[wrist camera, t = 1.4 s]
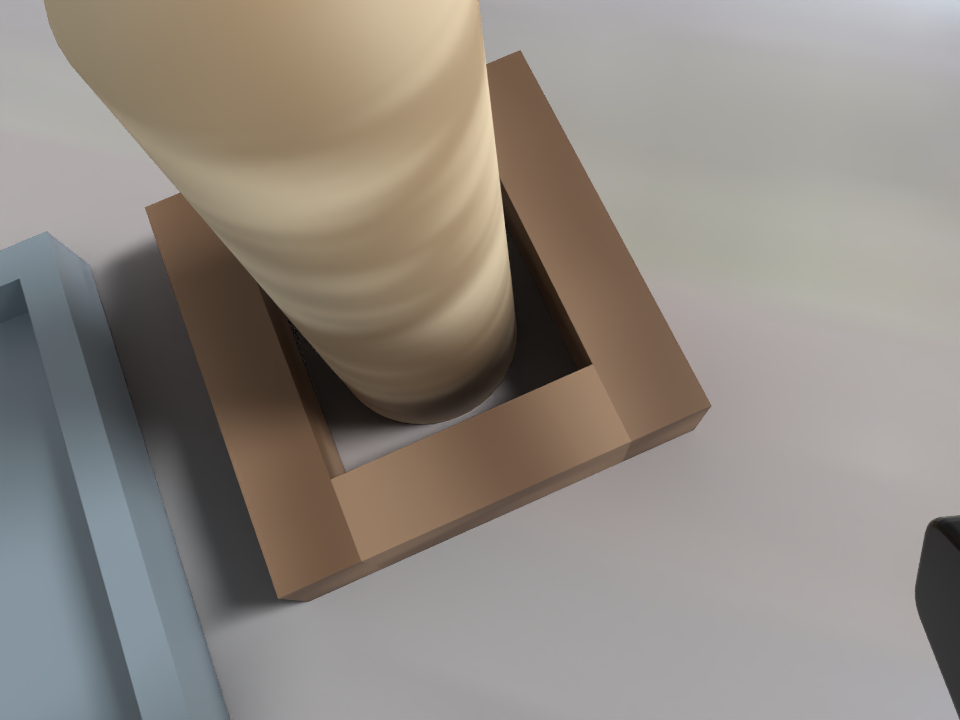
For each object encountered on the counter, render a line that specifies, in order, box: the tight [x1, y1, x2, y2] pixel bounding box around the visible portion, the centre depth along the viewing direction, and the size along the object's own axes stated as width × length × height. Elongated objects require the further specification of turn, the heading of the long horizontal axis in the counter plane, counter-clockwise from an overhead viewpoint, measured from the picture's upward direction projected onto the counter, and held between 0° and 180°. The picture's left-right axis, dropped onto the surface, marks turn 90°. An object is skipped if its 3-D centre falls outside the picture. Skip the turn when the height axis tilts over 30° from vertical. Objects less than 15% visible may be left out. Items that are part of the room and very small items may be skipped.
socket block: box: [145, 50, 711, 602], centre depth 22 cm, size 11×11×2 cm
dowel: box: [44, 0, 517, 424], centre depth 17 cm, size 5×5×14 cm
